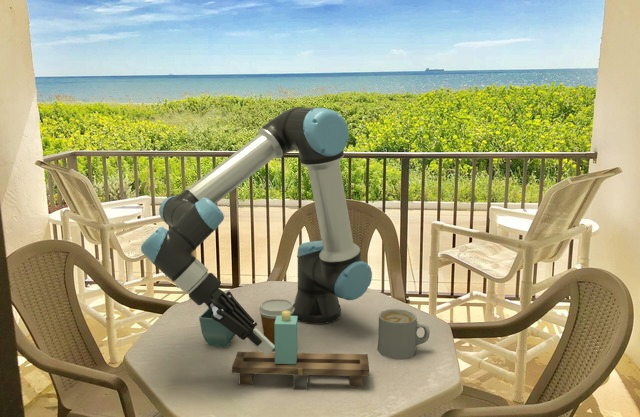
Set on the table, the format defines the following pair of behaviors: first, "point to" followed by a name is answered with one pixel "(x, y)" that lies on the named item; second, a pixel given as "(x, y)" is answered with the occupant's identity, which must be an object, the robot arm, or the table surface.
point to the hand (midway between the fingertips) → (270, 350)
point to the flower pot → (214, 331)
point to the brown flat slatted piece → (302, 367)
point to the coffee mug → (399, 333)
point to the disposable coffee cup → (273, 315)
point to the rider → (286, 338)
